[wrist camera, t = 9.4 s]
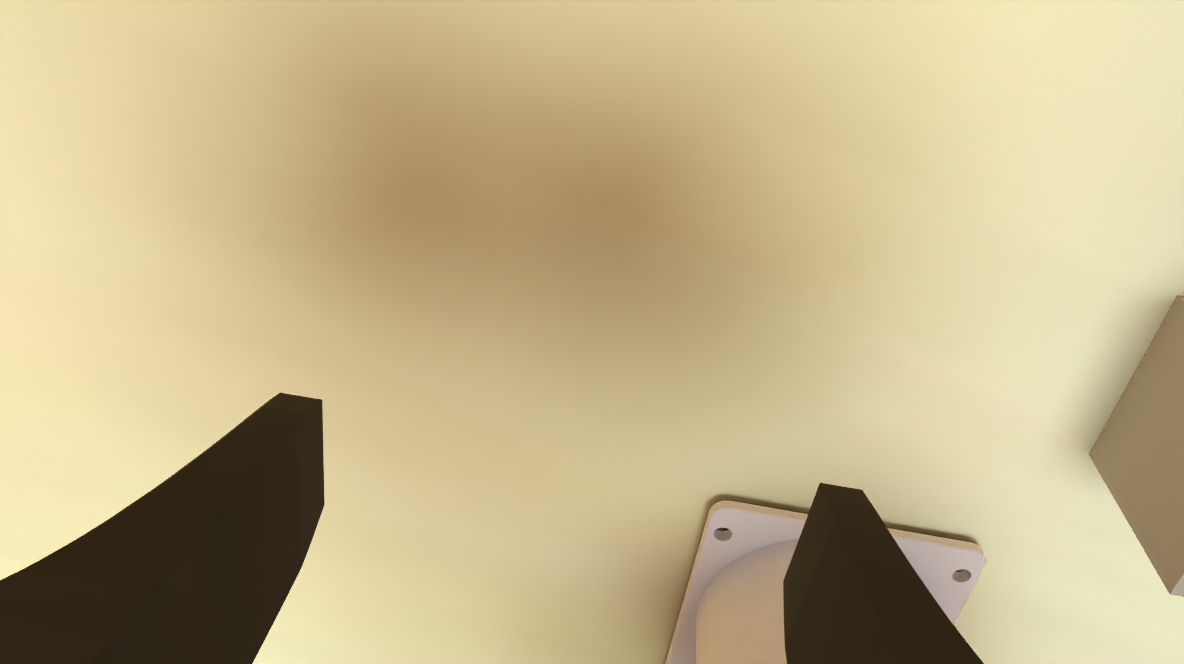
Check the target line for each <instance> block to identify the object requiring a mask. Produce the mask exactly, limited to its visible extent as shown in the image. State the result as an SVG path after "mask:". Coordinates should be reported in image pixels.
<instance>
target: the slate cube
mask: <svg viewBox="0 0 1184 664" xmlns="http://www.w3.org/2000/svg"><path fill="white" fill-rule="evenodd" d="M1089 456H1090V457H1091V459H1092V461H1093V462H1094V464H1095V466H1096V468H1097V469H1098V471H1099V473H1100V475H1101V476H1102V478H1103V480H1104V481H1105V483H1106V485H1107V487H1108V488H1109V490H1110V492H1111V494H1112V495H1113V497H1114V499H1115V500H1116V502H1117V504H1118V506H1119V507H1120V509H1121V511H1122V513H1123V514H1124V516H1125V518H1126V519H1127V521H1128V523H1129V525H1130V526H1131V528H1132V530H1133V532H1134V533H1135V535H1136V537H1137V538H1138V540H1139V542H1140V544H1141V545H1142V547H1143V549H1144V551H1145V552H1146V554H1147V556H1148V557H1149V559H1150V561H1151V563H1152V564H1153V566H1154V568H1155V570H1156V571H1157V573H1158V575H1159V576H1160V578H1161V580H1162V582H1163V583H1164V585H1165V587H1166V589H1167V590H1168V592H1169V594H1171V595H1177V596H1183V597H1184V296H1178V295H1177V297H1176V299H1175V301H1174V303H1173V304H1172V306H1171V308H1170V310H1169V312H1168V313H1167V315H1166V317H1165V319H1164V321H1163V322H1162V324H1161V326H1160V328H1159V330H1158V331H1157V333H1156V335H1155V337H1154V339H1153V340H1152V342H1151V344H1150V346H1149V348H1148V349H1147V351H1146V353H1145V355H1144V357H1143V358H1142V360H1141V362H1140V364H1139V366H1138V367H1137V369H1136V371H1135V373H1134V375H1133V377H1132V378H1131V380H1130V382H1129V384H1128V386H1127V387H1126V389H1125V391H1124V393H1123V395H1122V396H1121V398H1120V400H1119V402H1118V404H1117V405H1116V407H1115V409H1114V411H1113V413H1112V414H1111V416H1110V418H1109V420H1108V422H1107V423H1106V425H1105V427H1104V429H1103V431H1102V432H1101V434H1100V436H1099V438H1098V440H1097V441H1096V443H1095V445H1094V447H1093V449H1092V450H1091V452H1090V454H1089Z"/></svg>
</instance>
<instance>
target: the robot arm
mask: <svg viewBox="0 0 1184 664" xmlns="http://www.w3.org/2000/svg"><path fill="white" fill-rule="evenodd" d="M323 507H324V467H323V419H322V400H320V399H314V398H308V397H302V396H296V395H290V394H284V393H279V394H278V395H276V396H275V397H273V398H272V399H270V400H269V401H268V402H267V403H265V404H264V405H263V406H261V407H260V408H259V409H258V410H256V411H255V412H254V413H253V414H251V415H250V416H249V417H248V418H246V419H245V420H244V421H243V422H241V423H240V424H239V425H238V426H236V427H235V428H234V429H233V430H231V431H230V432H229V433H228V434H226V435H225V436H224V437H222V438H221V439H220V440H219V441H217V442H216V443H215V444H213V445H212V446H211V447H210V448H208V449H207V450H206V451H204V452H203V453H202V454H200V455H199V456H198V457H196V458H195V459H194V460H192V461H191V462H190V463H188V464H187V465H186V466H184V467H183V468H182V469H180V470H179V471H178V472H176V473H175V474H174V475H172V476H171V477H170V478H168V479H167V480H165V481H164V482H163V483H161V484H160V485H158V486H157V487H156V488H154V489H153V490H151V491H150V492H148V493H147V494H145V495H144V496H142V497H141V498H139V499H138V500H136V501H135V502H134V503H132V504H131V505H129V506H128V507H126V508H125V509H123V510H122V511H120V512H119V513H117V514H116V515H114V516H113V517H111V518H110V519H108V520H107V521H105V522H104V523H102V524H100V525H99V526H97V527H96V528H94V529H92V530H91V531H89V532H88V533H86V534H84V535H83V536H81V537H79V538H78V539H76V540H74V541H73V542H71V543H69V544H68V545H66V546H64V547H62V548H61V549H59V550H57V551H55V552H54V553H52V554H50V555H48V556H47V557H45V558H43V559H41V560H39V561H38V562H36V563H34V564H32V565H30V566H28V567H26V568H25V569H23V570H21V571H19V572H17V573H15V574H13V575H10V576H8V577H6V578H4V579H2V580H0V664H252V663H253V661H254V659H255V657H256V655H257V653H258V652H259V650H260V648H261V646H262V644H263V642H264V640H265V638H266V636H267V634H268V632H269V630H270V628H271V626H272V625H273V623H274V621H275V619H276V617H277V615H278V613H279V611H280V609H281V607H282V605H283V603H284V601H285V599H286V597H287V595H288V593H289V591H290V589H291V587H292V585H293V583H294V581H295V579H296V577H297V575H298V573H299V571H300V569H301V567H302V565H303V562H304V559H305V557H306V554H307V551H308V549H309V546H310V543H311V541H312V538H313V535H314V532H315V530H316V527H317V524H318V521H319V518H320V515H321V513H322V510H323ZM718 528H727V529H729V530H727V531H718V530H716V529H718ZM985 562H986V559H985V557H984V554H983V551H982V549H981V547H979V546H978V545H977V544H974V543H971V542H965V541H960V540H954V539H948V538H942V537H937V536H931V535H925V534H919V533H914V532H908V531H902V530H896V529H891V528H887V527H886V526H885V524H884V522H883V521H882V519H881V518H880V516H879V515H878V513H877V512H876V510H875V509H874V507H873V506H872V504H871V503H870V501H869V500H868V498H867V497H866V495H865V494H864V492H863V491H862V490H859V489H853V488H847V487H841V486H835V485H829V484H823V483H820V484H819V487H818V490H817V492H816V495H815V498H814V500H813V503H812V506H811V508H810V511H809V514H804V513H798V512H793V511H787V510H781V509H775V508H770V507H764V506H758V505H752V504H747V503H741V502H735V501H724V500H723V501H720V502H717V503H715V504H714V505H712V507H711V508H710V510H709V513H708V517H707V520H706V524H705V527H704V531H703V534H702V538H701V541H700V544H699V548H698V551H697V555H696V558H695V562H694V565H693V569H692V572H691V576H690V579H689V583H688V586H687V589H686V593H685V596H684V600H683V603H682V607H681V610H680V614H679V617H678V621H677V624H676V627H675V631H674V634H673V638H672V641H671V645H670V648H669V652H668V655H667V659H666V662H665V664H983V662H982V661H981V660H980V658H979V657H978V656H977V655H976V653H975V652H974V651H973V650H972V648H971V647H970V646H969V645H968V643H967V642H966V641H965V639H964V638H963V637H962V636H961V634H960V633H959V632H958V630H957V629H956V628H955V626H954V625H953V624H954V623H955V621H956V619H957V617H958V615H959V613H960V611H961V609H962V607H963V606H964V604H965V602H966V600H967V598H968V596H969V594H970V592H971V590H972V589H973V587H974V585H975V583H976V581H977V579H978V577H979V575H980V573H981V572H982V570H983V568H984V566H985ZM960 569H965V570H964V571H961V572H955V571H957V570H960Z"/></svg>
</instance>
